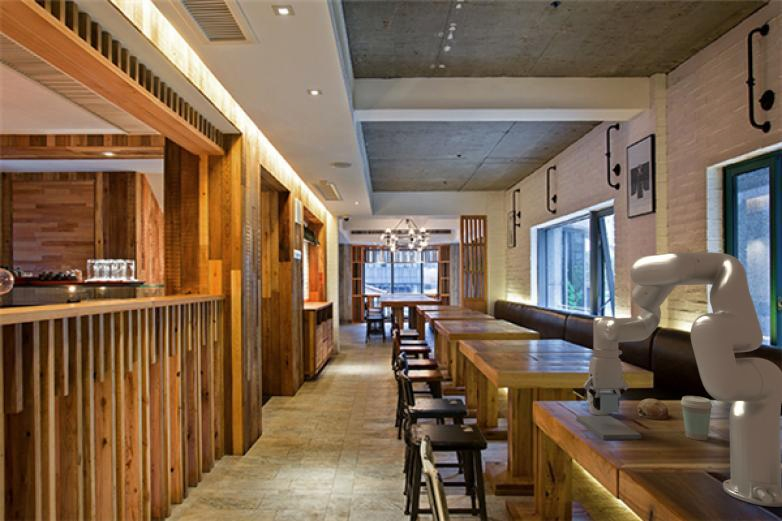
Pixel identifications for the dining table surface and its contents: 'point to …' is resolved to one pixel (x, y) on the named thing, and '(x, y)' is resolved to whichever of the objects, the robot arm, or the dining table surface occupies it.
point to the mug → (591, 407)
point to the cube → (608, 401)
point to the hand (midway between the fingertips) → (606, 408)
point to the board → (608, 427)
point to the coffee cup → (696, 416)
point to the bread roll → (652, 409)
